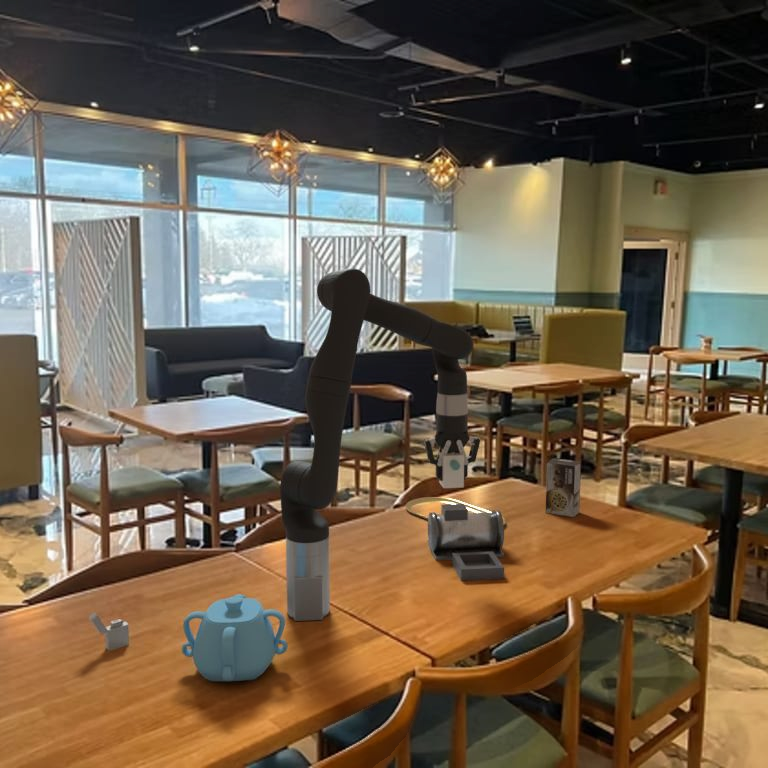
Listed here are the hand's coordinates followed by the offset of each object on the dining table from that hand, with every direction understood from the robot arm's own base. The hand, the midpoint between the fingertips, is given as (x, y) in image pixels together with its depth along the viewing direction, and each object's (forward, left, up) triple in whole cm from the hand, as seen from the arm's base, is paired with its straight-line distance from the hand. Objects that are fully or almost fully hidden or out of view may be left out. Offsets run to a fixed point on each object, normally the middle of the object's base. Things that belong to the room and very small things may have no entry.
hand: (451, 479), depth 184 cm
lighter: (-32, +75, -23) cm, 84 cm away
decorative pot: (-42, +50, -23) cm, 69 cm away
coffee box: (+40, -43, -23) cm, 64 cm away
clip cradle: (0, -6, -23) cm, 24 cm away
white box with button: (-1, 0, -1) cm, 2 cm away
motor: (+12, -6, -23) cm, 27 cm away
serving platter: (+40, -9, -24) cm, 48 cm away
